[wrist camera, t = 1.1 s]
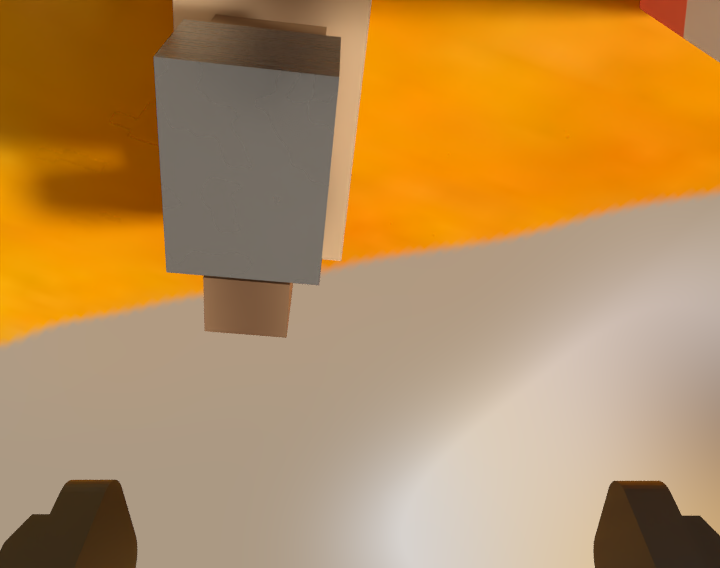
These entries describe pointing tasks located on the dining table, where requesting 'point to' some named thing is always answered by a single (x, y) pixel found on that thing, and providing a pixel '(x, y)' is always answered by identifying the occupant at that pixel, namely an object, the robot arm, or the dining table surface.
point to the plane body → (350, 22)
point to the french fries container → (690, 21)
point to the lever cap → (245, 149)
